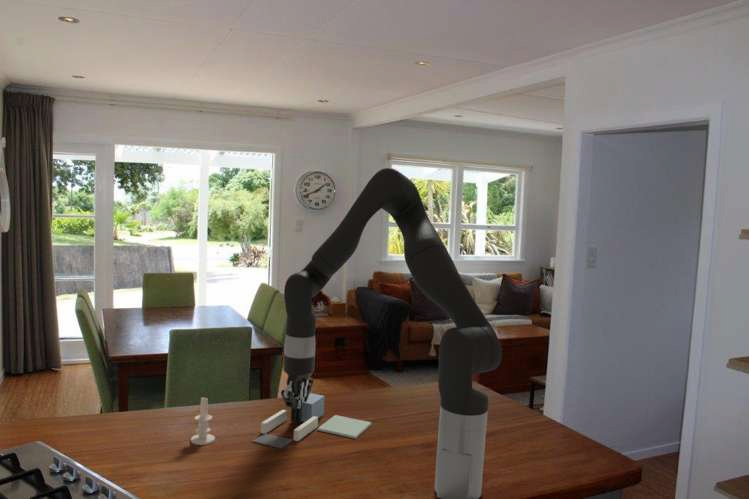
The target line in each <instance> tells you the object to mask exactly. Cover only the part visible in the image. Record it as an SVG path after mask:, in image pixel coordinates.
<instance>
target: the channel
mask: <svg viewBox="0 0 749 499" xmlns="http://www.w3.org/2000/svg"><path fill="white" fill-rule="evenodd" d="M287 416H288V410H286V409H282V410H280V411H278V412H277V413H274V414H273V415H272V416H270V417H269V418H267V419H265V420H264V421H262V422H261V424H260V425H261V426H260V433H261V435H260V436H258V437H256V438H255V439H254V440H252V443H255V444H260V445H263V446H266V447H267V446H268V447H272V448H275V449H281V450H282V449H284V448H285V447H286V446H288V445H289V444H290V443H291V442H293V441H295V442H299V441H301V440H302V439H303V438H304V437H306V436H308V435H309V434H310V433H312V432H313V431H314V430H316V429H318V428H319V427H318V425H319V423H318V422H319V418H318V417H316V416H313V417H312V418H310V419H309V420H307V421H306V422H303V423H302V424H300V425H299V426H297V427H296V428H295V429H293V439H290V438H286V437H281V436H277V435H273V434H269V432H271V431H272V430H273V429H275V428H277V427H279V425H282V424H283V423H285V422H286V421H287V419H288V417H287ZM308 433H309V434H308Z"/></svg>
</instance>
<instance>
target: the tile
mask: <svg viewBox="0 0 749 499" xmlns="http://www.w3.org/2000/svg"><path fill="white" fill-rule="evenodd" d="M371 425H372V422H371V421H367V420H362V419H361V420H360V419H356V418H353V417H352V418H351V417H347V416H344V415H343V416H342V415H338V414H334V415H333V416H332V417H331V418H329V419H328V420H327V421H325V422H324V423H323V424H321V425H320V426H319V427H317V431H320V432H323V433H328V434H332V435H338V436H342V437H346V438H352V439H354V440H356V439H357V438H358V437H359V436H360V435H361V434H363V433H364V432H366V430H367V429H368V428H369V427H370V426H371Z"/></svg>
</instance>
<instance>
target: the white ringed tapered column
mask: <svg viewBox="0 0 749 499" xmlns="http://www.w3.org/2000/svg"><path fill="white" fill-rule="evenodd" d="M208 406H209V399H208V398H207V397H205V395H204V396H203V397H200V406H199V407H200V408H199V409H200V410H199V414H197V415H196V416H195V417H194V420H196V421H198V426H197V427H198V428H196V429H195V433H196V434H195V435H192V437H191V438H190V443H192V444H193V445H198V446H206V445H210V444H212V443H214V442H215V439H216V437H215V436H214V435H213V434H210V432H211V428H209V421H210V420H212V419H213V415H211V414H209V412H208V410H209V407H208Z"/></svg>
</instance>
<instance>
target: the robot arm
mask: <svg viewBox="0 0 749 499" xmlns="http://www.w3.org/2000/svg"><path fill="white" fill-rule="evenodd" d="M380 210H383V211H385V212H386V213H387V214H388V215H390V216H391V217H392V219H393V220H394V222H395V223H396V225H397V227H398V229H399V231H400V233H401V236H402V237H403V254H404V261H405V263H406V266H407V268H408V271H409V273H410V274H411V277H412V279H413V282H414V283H415V285H416V287H418V289H419V290H420V291H421V292H422V294H424V295H425V296H426V297H427V298H428V299H429V300H430V301H432V303H435V304H436V305H437V306H438V307H439V308H441V310H443V311H444V312H445V314H447V315H448V316H449V317H450V319H451V320H452V322H453V323H454V325H455V327H450V328H449V329H447V330H446V331H445V332H444V333H443V335H442V336H441V338H440V339H441V340H440V343H439V349H438V375H437V376H438V378H437V379H438V380H437V384H438V392H439V395H440V396H439V397H440V406H439V419H438V432H437V433H438V434H437V446H436V458H435V459H436V460H435V462H436V463H435V473H434V474H435V475H434V476H435V478H434V488H433V489H434V491H435V493H436V498H438V499H479V498H481V495H482V487H483V476H484V475H483V472H484V462H485V461H484V460H485V449H486V448H485V447H486V446H485V445H486V436H487V426H488V425H487V423H488V410H489V397H488V395H487V393H485V392H484V391H482V390H481V389H478V388H475V387H473V375H475V374H477V375H478V374H482V373H487V372H492V371H494V370H496V369H497V368H498V367H499V366H500V365H501V361H502V357H503V349H502V346H501V341H500V339H499V336H498V335H497V333H496V331H495V329H494V328H493V326H492V325H491V323H490V322H489V320H488V319H487V317H486V316H485V314H484V313H483V311H482V310H481V308H480V307H479V305H478V304H477V303H476V301H475V300H474V297H473V295H472V294H471V292H470V291H469V289H468V287H467V285H466V283H465V281H464V280H463V278H462V276H461V274H460V272H459V271H458V269H457V267H456V264H455V262H454V261H453V259H452V256H451V255H450V253H449V250H448V249H447V247H446V245H445V244H444V242H443V240H442V238H441V237H440V235H439V233H438V231H437V230H436V228H435V227H434V225H433V223H432V222H431V221H430V218H429V216H428V214H427V211H426V209H425V205H424V203H423V200H422V197H421V195H420V192H419V189H418V188H417V186H416V185H415V183H414V181H412V180H411V179H410V178H408V177H407V176H406V175H404V173H403V172H401V171H399V170H398V169H396V168H394V167H385V168H382V169H380V170H378V171H377V172H376V173H375V174H373V175H372V177H371V178H370V179H369V181H368V182H367V184H365V187H364V188H363V189H362V191H361V192H360V193H359V195H358V197H357V198H356V200H355V201H354V202H353V204H352V205H351V207H350V209H349V210H348V211H347V214H346V215H345V216H344V218H343V219H342V220H341V221H340V223H339V225H337V227H336V229H334V231H333V232H332V233H331V234H330V235H329V236H328V238H326V240H325V241H324V242H323V243H322V244H321V245H320V246H319V247H318V248H317V249H316V251H314V253H313V254H312V256H311V260H310V261H309V262H308V263H307V265H306V266H305V267H303V269H301V270H300V271H298V272H296V273H293V274H291V275H290V276H288V278H287V279H286V281H285V284H284V288H283V289H284V291H283V292H284V293H283V296H284V298H283V300H284V306H285V311H286V312H285V313H286V330H285V332H286V333H285V339H284V349H283V351H284V352H283V366H282V367H283V372H284V373H285V374H286V375H287V379H286V380H287V381H286V388H285V389H282V390H281V391H280V395H281V398H282V400H283V401H284V403H285V405H286V407H288V408H291V409H290V422H291V423H295V424H299V423H300V422H302V421H301V417H302V407H303V405H304V402H307V399H308V396H309V394H310V393H311V390H312V387H313V385H314V379H312V378H310V375H312V374H313V373H314V372H315V359H316V344H317V343H316V325H317V324H316V323H317V321H316V318H317V316H316V314H315V312H314V311H313V306H312V304H313V303H312V300H313V298H314V297H317V295H319V293H320V292H321V291H322V290H323V289H324V288H325V287H326V285H327V284H328V283H329V281H330V280H331V279H332V278H333V276H334V275H335V273H337V272H338V271H339V270H340V269H341V268H342V267H343V266H344V265H345V264H346V263H347V262H348V261H349V259H350V258H351V257H352V256H353V255H354V253H355V252H356V250H357V248H358V246H359V243H360V240H361V238H362V236H363V235H362V234H363V233H364V232H363V231H364V229H365V228H366V225H367V224H368V222H369V221H370V220H371V219H372V218H373V217H374V215H375V214H377V212H379V211H380Z"/></svg>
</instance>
